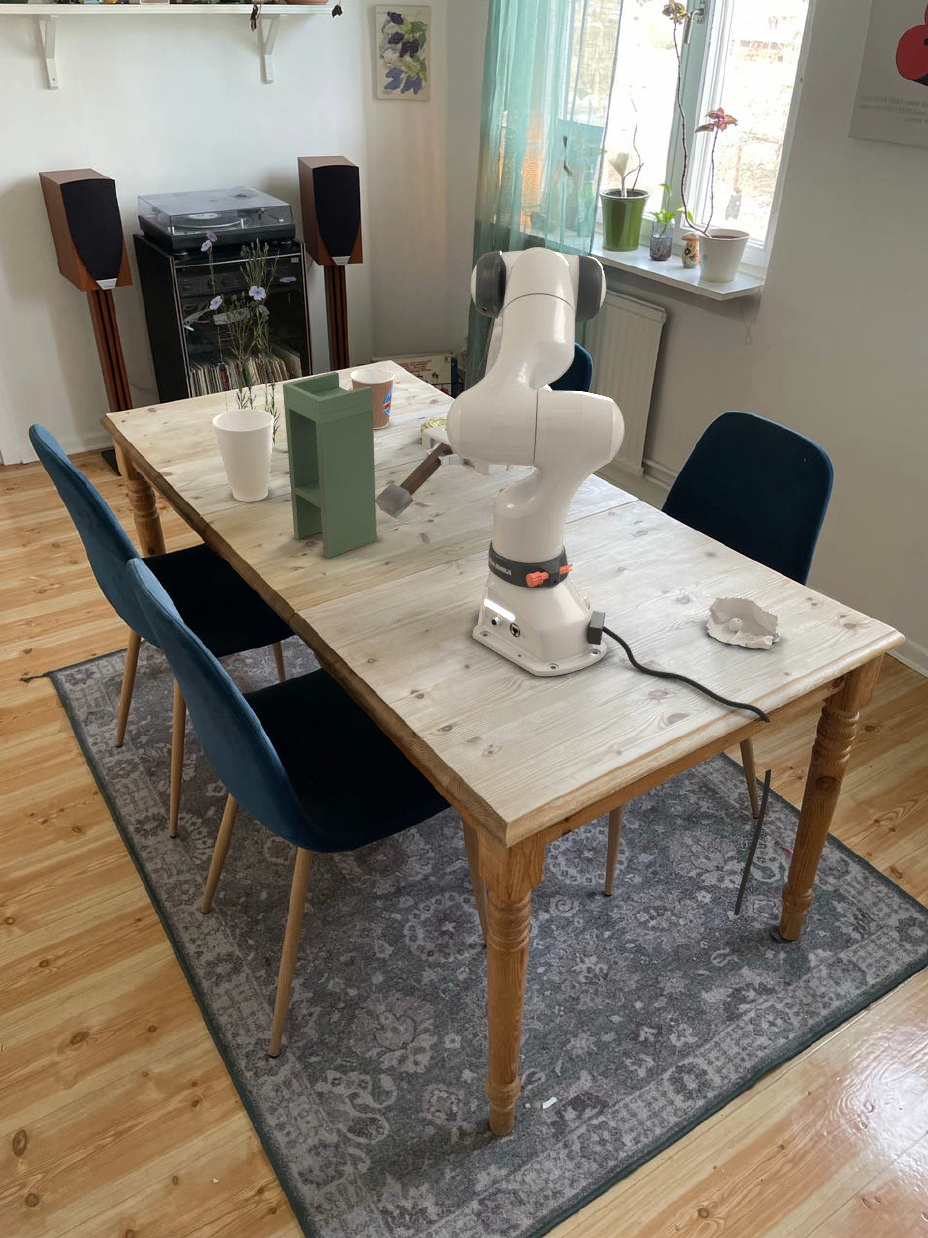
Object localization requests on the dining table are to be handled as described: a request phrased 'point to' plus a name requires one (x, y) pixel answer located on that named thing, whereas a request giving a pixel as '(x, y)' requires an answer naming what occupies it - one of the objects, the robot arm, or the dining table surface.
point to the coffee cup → (376, 392)
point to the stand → (331, 462)
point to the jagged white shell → (742, 623)
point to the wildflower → (258, 294)
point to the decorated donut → (433, 423)
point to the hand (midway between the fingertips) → (434, 458)
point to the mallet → (410, 484)
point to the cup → (246, 451)
